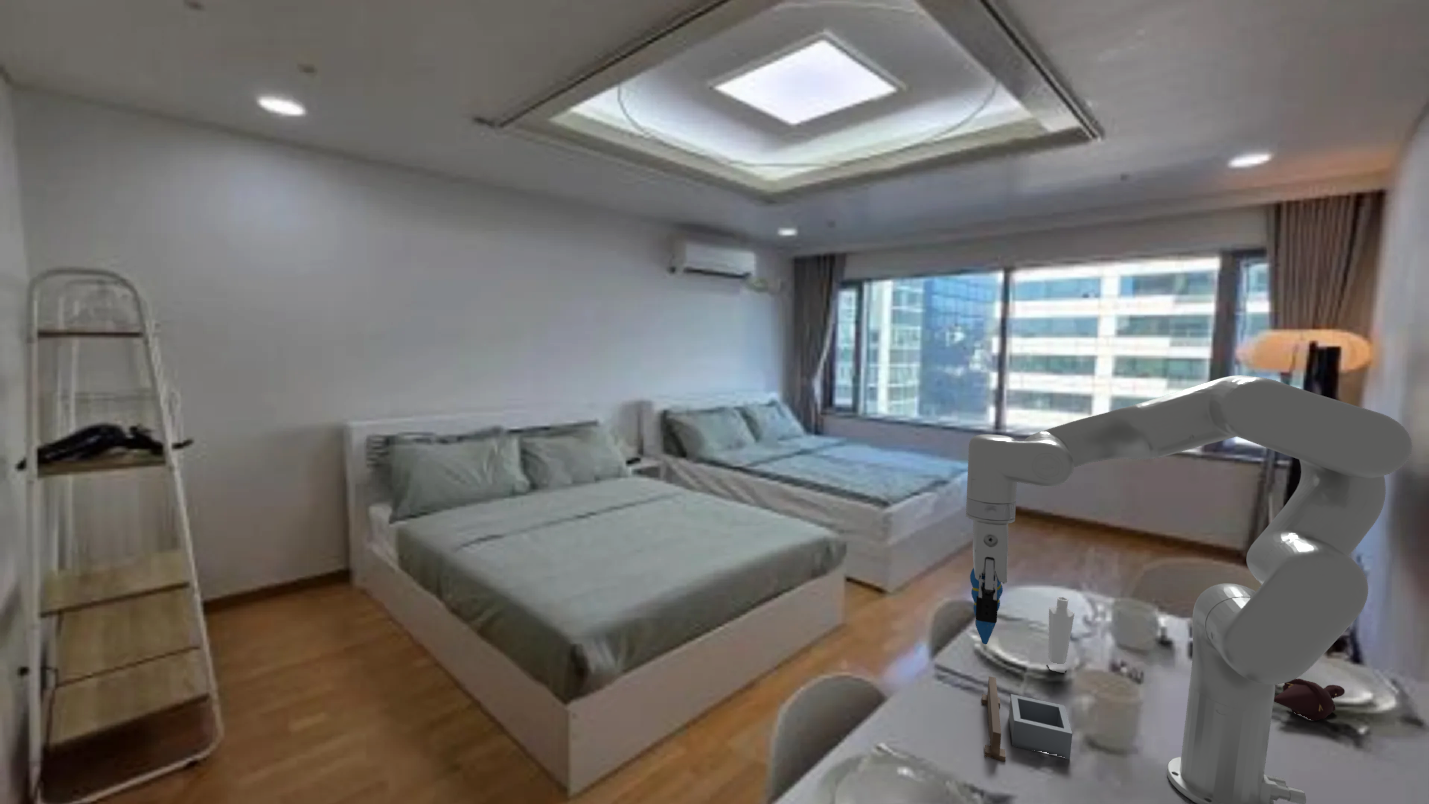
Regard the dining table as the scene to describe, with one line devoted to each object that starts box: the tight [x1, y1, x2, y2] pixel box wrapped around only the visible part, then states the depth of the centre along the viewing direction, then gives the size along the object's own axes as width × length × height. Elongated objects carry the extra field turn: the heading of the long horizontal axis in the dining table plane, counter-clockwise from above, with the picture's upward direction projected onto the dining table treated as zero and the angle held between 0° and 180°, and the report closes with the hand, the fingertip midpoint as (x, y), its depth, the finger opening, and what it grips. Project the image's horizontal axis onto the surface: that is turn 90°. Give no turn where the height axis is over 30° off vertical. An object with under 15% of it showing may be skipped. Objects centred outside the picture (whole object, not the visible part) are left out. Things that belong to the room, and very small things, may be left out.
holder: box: [1008, 693, 1073, 761], centre depth 105 cm, size 8×8×4 cm
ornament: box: [969, 567, 1004, 645], centre depth 105 cm, size 5×5×15 cm
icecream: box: [1274, 678, 1346, 722], centre depth 114 cm, size 7×7×15 cm
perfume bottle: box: [1048, 596, 1075, 664], centre depth 127 cm, size 5×4×15 cm
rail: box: [981, 675, 1007, 763], centre depth 108 cm, size 3×18×4 cm, turn 158°
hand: (985, 613), depth 105 cm, fingers closed on ornament, 4 cm apart
